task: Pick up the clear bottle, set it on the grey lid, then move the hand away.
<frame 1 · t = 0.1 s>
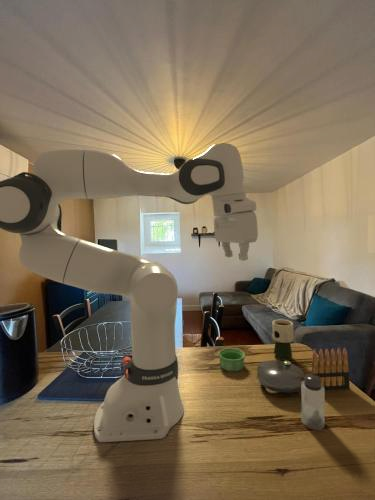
hand: (235, 258, 70), 39 cm above the table, tool pointing down, fingers open, 8 cm apart
grey lid: (280, 385, 76), on the table
ammunition clip: (329, 388, 75), on the table
ramekin: (231, 366, 89), on the table
character mug: (282, 357, 93), on the table
clear bottle: (312, 422, 62), on the table
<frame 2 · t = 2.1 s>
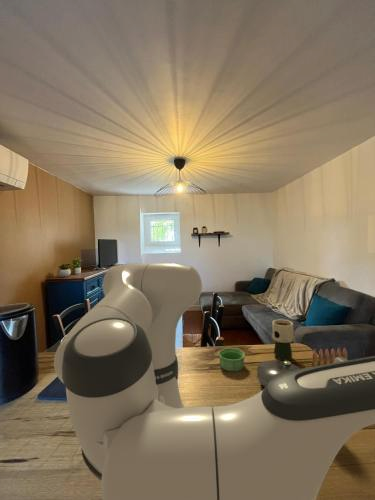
hand: (358, 357, 48), 22 cm above the table, tool horizontal, fingers open, 8 cm apart
nothing on the table moved.
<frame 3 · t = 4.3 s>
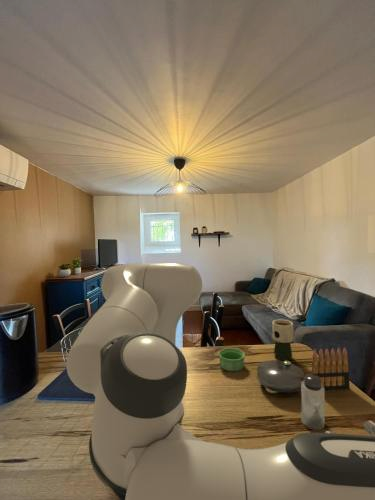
hand: (347, 428, 52), 6 cm above the table, tool horizontal, fingers open, 8 cm apart
nothing on the table moved.
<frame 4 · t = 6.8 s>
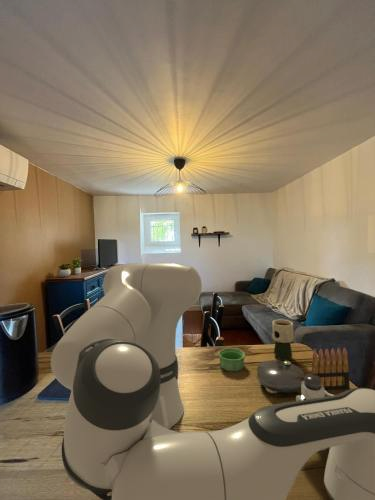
hand: (310, 395, 62), 6 cm above the table, tool horizontal, fingers closed on clear bottle, 5 cm apart
clear bottle: (312, 422, 62), on the table, touching gripper
everything else where it was.
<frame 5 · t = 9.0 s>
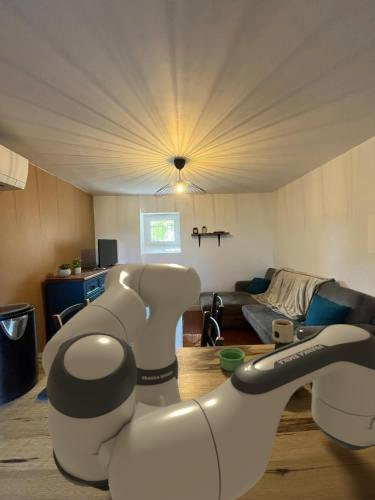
hand: (301, 346, 65), 17 cm above the table, tool horizontal, fingers closed on clear bottle, 5 cm apart
clear bottle: (304, 373, 65), point 10 cm above the table, touching gripper
everything else where it was.
when the fingers open (12 cm above the table, at t = 11.4 s): clear bottle stays where it is, resting on grey lid.
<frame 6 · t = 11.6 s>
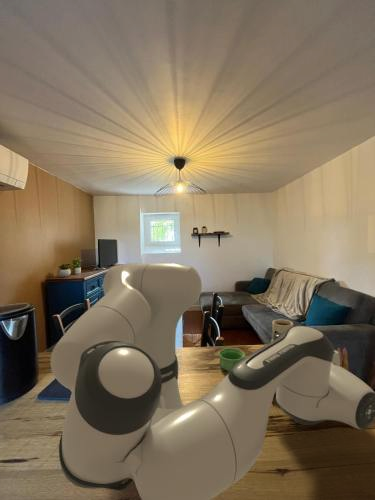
hand: (278, 345, 76), 12 cm above the table, tool horizontal, fingers open, 6 cm apart
clear bottle: (280, 371, 76), point 5 cm above the table, touching grey lid
everything else where it was.
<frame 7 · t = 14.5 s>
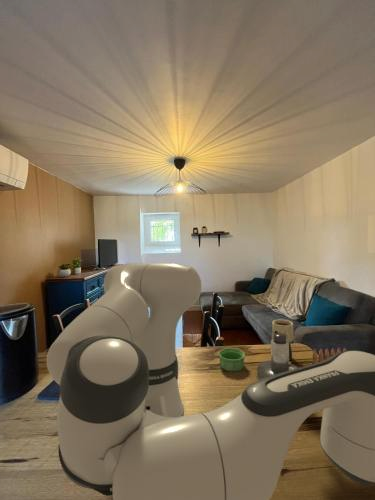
hand: (307, 366, 64), 12 cm above the table, tool horizontal, fingers open, 8 cm apart
nothing on the table moved.
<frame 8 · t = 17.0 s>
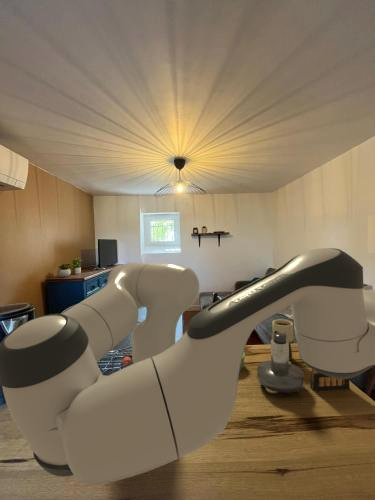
hand: (289, 289, 61), 32 cm above the table, tool horizontal, fingers open, 8 cm apart
nothing on the table moved.
at the end: clear bottle inside the target area on the grey lid (0.1 cm from its centre), point 4.5 cm above the grey lid's base; clear bottle tilted 0°; the gripper is holding nothing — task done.
